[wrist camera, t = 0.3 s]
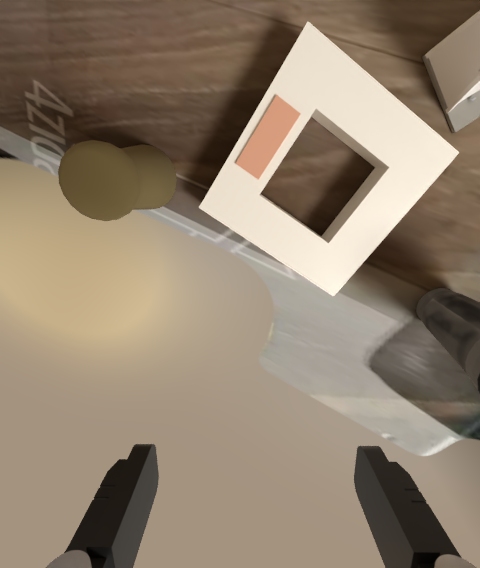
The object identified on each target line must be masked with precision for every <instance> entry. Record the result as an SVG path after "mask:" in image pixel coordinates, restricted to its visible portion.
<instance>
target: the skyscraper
mask: <svg viewBox="0 0 480 568" xmlns="http://www.w3.org/2000/svg"><path fill="white" fill-rule="evenodd" d="M422 59H423V61H424V64H425V66H426V69H427V71H428V74H429V76H430V79H431V81H432V84H433V86H434V89H435V91H436V94H437V96H438V99H439V101H440V104H441V106H442V109H443V111H444V114H445V116H446V119H447V121H448V124H449V126H450V129H451V131H452V133H455V132H457V131H458V130H460V129H461V128H463V127H465V126H466V125H468V124H469V123H471V122H472V121H474V120H475V119H477V118H478V117H480V10H479V11H478V12H477V13H476V14H474V15H473V16H472V17H471V18H469V19H468V20H467V21H466V22H464V23H463V24H462V25H461V26H459V27H458V28H457V29H456V30H454V31H453V32H452V33H451V34H450V35H448V36H447V37H446V38H445V39H443V40H442V41H441V42H440V43H438V44H437V45H436V46H435V47H433V48H432V49H431V50H430V51H429V52H427V53H426V54H425V55H424V56H423V57H422Z"/></svg>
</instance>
